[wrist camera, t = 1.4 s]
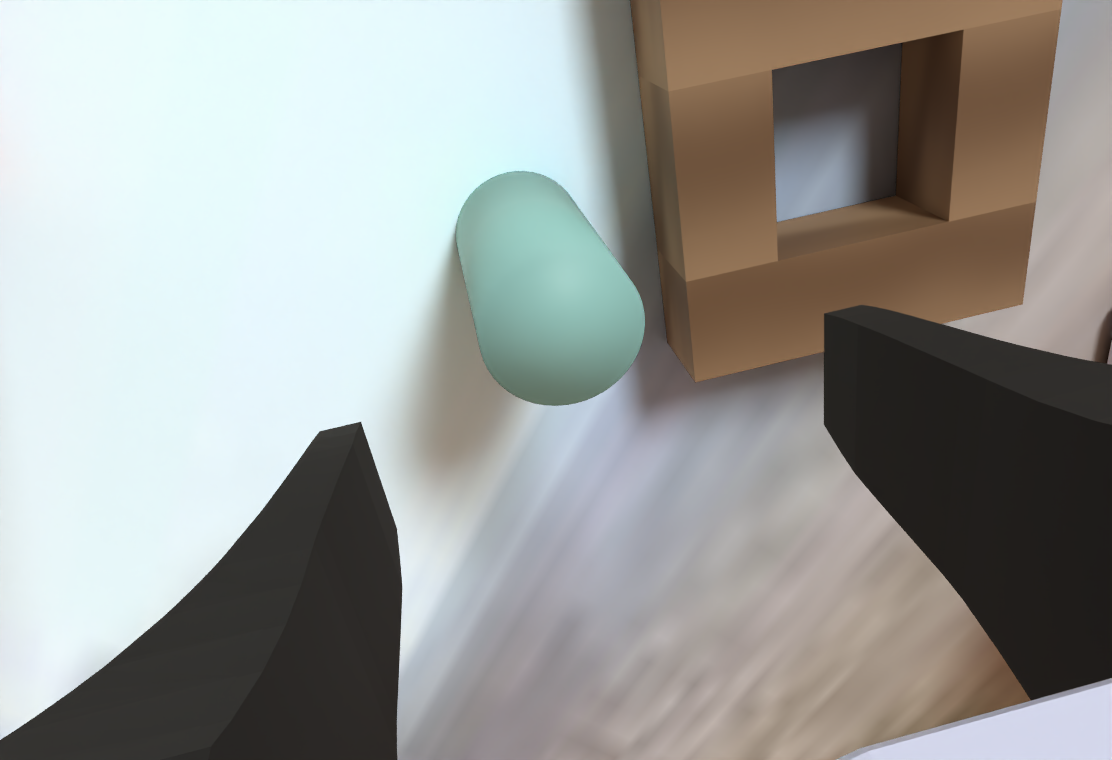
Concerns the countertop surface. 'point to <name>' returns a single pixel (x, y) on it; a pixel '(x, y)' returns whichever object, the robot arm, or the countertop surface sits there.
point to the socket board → (854, 231)
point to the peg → (545, 292)
